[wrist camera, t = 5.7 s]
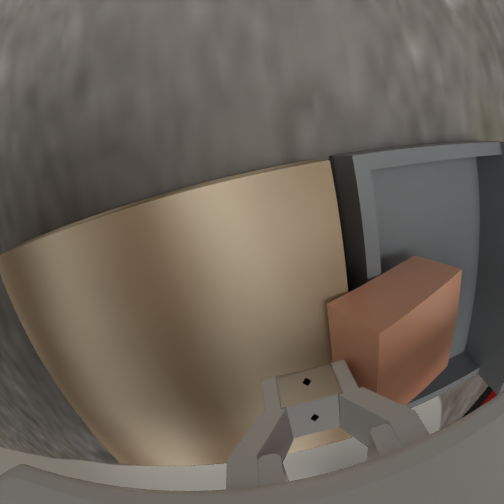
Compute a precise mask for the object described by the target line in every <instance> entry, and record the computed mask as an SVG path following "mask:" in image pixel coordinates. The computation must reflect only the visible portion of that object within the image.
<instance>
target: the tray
mask: <svg viewBox="0 0 504 504" xmlns="http://www.w3.org/2000/svg"><path fill="white" fill-rule="evenodd" d="M330 160H331V165H332V170H333V176H334V181H335V187H336V193H337V199H338V205H339V212H340V219H341V226H342V233H343V241H344V249H345V257H346V266H347V276H348V286H349V292H350V291H352V290H354V289H356V288H358V287H360V286H362V285H363V284H365V283H367V282H369V281H371V280H373V279H374V278H376V277H378V276H380V275H381V274H383V273H385V272H387V271H388V270H390V269H392V268H394V267H395V266H397V265H399V264H400V263H402V262H404V261H406V260H407V259H409V258H411V257H412V256H414V255H415V256H419V257H422V258H426V259H429V260H433V261H436V262H440V263H443V264H446V265H450V266H453V267H456V268H460V269H462V275H461V286H460V296H459V304H458V311H457V318H456V325H455V331H454V336H453V342H452V347H451V351H450V356H449V361H448V365H447V367H446V368H445V369H444V370H443V371H442V372H441V373H440V374H439V375H438V376H437V377H436V378H435V379H434V380H433V381H432V382H431V383H430V384H429V385H428V386H427V387H426V388H425V389H424V390H423V391H421V392H420V393H419V394H418V395H417V396H416V397H415V398H414V399H413V400H412V401H410V402H409V403H408V404H407V405H406V407H408V408H413V407H415V406H417V405H419V404H421V403H424V402H426V401H428V400H430V399H432V398H434V397H436V396H438V395H440V394H442V393H444V392H446V391H448V390H450V389H452V388H454V387H456V386H457V385H459V384H461V383H463V382H465V381H466V380H468V379H470V378H472V377H473V376H475V375H477V374H479V375H480V377H481V378H482V379H483V380H484V381H485V382H486V383H487V384H488V385H489V386H490V387H491V389H492V390H493V391H494V392H495V393H496V394H497V395H498V394H500V393H501V392H503V391H504V142H498V141H458V142H443V143H430V144H419V145H409V146H399V147H391V148H382V149H374V150H367V151H360V152H353V153H346V154H340V155H333V156H330Z"/></svg>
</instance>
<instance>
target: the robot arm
mask: <svg viewBox="0 0 504 504" xmlns="http://www.w3.org/2000/svg"><path fill="white" fill-rule="evenodd" d="M261 384H262V393H263V402H264V411H265V412H262V413H260V414H259V416H258V417H257V418H256V420H255V421H254V423H253V424H252V426H251V427H250V428H249V430H248V431H247V433H246V434H245V435H244V437H243V438H242V440H241V441H240V442H239V444H238V445H237V446H236V448H235V449H234V450H233V452H232V453H231V454H230V456H229V457H228V458H227V483H226V490H213V491H164V490H163V491H162V490H147V489H135V488H127V487H119V486H112V485H105V484H99V483H94V482H89V481H84V480H79V479H74V478H70V477H66V476H62V475H58V474H54V473H51V472H47V471H44V470H41V469H38V468H35V467H32V466H28V465H25V464H21V465H18V466H16V467H14V468H12V469H10V470H8V471H7V472H5V473H4V474H2V475H0V504H504V391H503V392H501V393H500V394H498V395H497V396H496V397H494V398H493V399H491V400H490V401H488V402H487V403H485V404H484V405H482V406H481V407H479V408H477V409H476V410H474V411H473V412H471V413H469V414H468V415H466V416H464V417H463V418H461V419H459V420H457V421H456V422H454V423H452V424H450V425H448V426H447V427H445V428H443V429H441V430H439V431H437V432H435V433H433V434H431V435H430V434H429V433H428V431H427V429H426V428H425V426H424V424H423V423H422V421H421V419H420V418H419V416H418V414H417V413H416V411H415V410H413V409H411V408H408V407H406V406H404V405H401V404H399V403H397V402H395V401H392V400H390V399H388V398H386V397H383V396H381V395H379V394H377V393H375V392H373V391H370V390H368V389H366V388H364V387H361V388H358V386H357V384H356V381H355V380H354V378H353V376H352V374H351V372H350V370H349V368H348V366H347V364H346V362H345V360H343V359H342V360H338V361H335V362H332V363H330V364H325V365H322V366H318V367H314V368H311V369H307V370H303V371H299V372H294V373H289V374H284V375H279V376H276V377H270V378H265V379H262V381H261ZM336 427H340V428H342V429H343V430H344V431H346V432H347V433H349V434H350V435H351V436H353V437H354V438H356V439H357V440H358V441H360V442H361V443H363V444H364V445H366V446H367V447H368V452H367V459H366V462H363V463H360V464H357V465H354V466H351V467H347V468H344V469H340V470H337V471H334V472H330V473H326V474H322V475H318V476H314V477H309V478H305V479H300V480H295V481H290V482H289V480H288V477H287V474H286V471H285V468H284V465H283V461H284V459H285V457H286V455H287V453H288V451H289V449H290V446H291V444H292V442H293V440H294V438H297V437H301V436H305V435H308V434H312V433H316V432H320V431H324V430H328V429H332V428H336Z"/></svg>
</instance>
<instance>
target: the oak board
mask: <svg viewBox="0 0 504 504" xmlns="http://www.w3.org/2000/svg"><path fill="white" fill-rule="evenodd" d="M0 275H1V278H2V281H3V283H4V286H5V288H6V291H7V293H8V295H9V298H10V300H11V302H12V305H13V307H14V309H15V311H16V313H17V315H18V318H19V320H20V322H21V324H22V326H23V328H24V330H25V332H26V334H27V335H28V337H29V339H30V341H31V343H32V345H33V347H34V348H35V350H36V352H37V354H38V355H39V357H40V359H41V361H42V362H43V364H44V366H45V367H46V369H47V370H48V372H49V374H50V375H51V377H52V378H53V380H54V381H55V383H56V384H57V386H58V387H59V389H60V390H61V392H62V393H63V395H64V396H65V397H66V399H67V400H68V402H69V403H70V404H71V406H72V407H73V409H74V410H75V411H76V412H77V414H78V415H79V416H80V418H81V419H82V420H83V422H84V423H85V424H86V425H87V426H88V428H89V429H90V430H91V431H92V433H93V434H94V435H95V436H96V437H97V438H98V440H99V441H100V442H101V443H102V444H103V445H104V446H105V448H106V449H107V450H108V451H109V452H110V453H111V454H112V455H113V456H114V457H115V458H116V459H117V460H118V461H119V462H120V464H125V465H142V466H195V465H211V464H224V463H227V458H228V457H229V456H230V454H231V453H232V452H233V450H234V449H235V448H236V446H237V445H238V444H239V442H240V441H241V440H242V438H243V437H244V435H245V434H246V433H247V431H248V430H249V428H250V427H251V426H252V424H253V423H254V421H255V420H256V418H257V417H258V416H259V414H260V413H262V412H265V411H264V402H263V393H262V384H261V381H262V379H265V378H270V377H276V376H279V375H284V374H289V373H294V372H299V371H303V370H307V369H311V368H314V367H318V366H322V365H325V364H330V363H332V362H333V360H332V349H331V339H330V330H329V321H328V312H327V303H329V302H331V301H333V300H335V299H337V298H339V297H341V296H343V295H345V294H347V293H348V284H347V274H346V265H345V256H344V248H343V240H342V232H341V225H340V218H339V211H338V205H337V199H336V193H335V187H334V181H333V175H332V170H331V165H330V160H305V161H299V162H294V163H289V164H284V165H279V166H274V167H269V168H264V169H259V170H255V171H250V172H246V173H241V174H237V175H233V176H229V177H224V178H220V179H216V180H212V181H208V182H204V183H200V184H197V185H193V186H189V187H185V188H182V189H178V190H174V191H171V192H167V193H164V194H160V195H157V196H153V197H150V198H147V199H143V200H140V201H137V202H134V203H130V204H127V205H124V206H121V207H118V208H115V209H112V210H109V211H106V212H103V213H100V214H97V215H94V216H91V217H88V218H85V219H83V220H80V221H77V222H74V223H71V224H69V225H66V226H63V227H61V228H58V229H55V230H53V231H50V232H48V233H45V234H43V235H40V236H38V237H35V238H33V239H30V240H28V241H26V242H24V243H22V244H20V245H18V246H16V247H14V248H12V249H10V250H8V251H7V252H5V253H3V254H1V255H0ZM348 438H352V436H351V435H350V434H349V433H347V432H346V431H344V430H343V429H342V428H340V427H336V428H332V429H328V430H324V431H320V432H316V433H312V434H308V435H305V436H301V437H297V438H294V440H293V442H292V444H291V446H290V449H289V451H288V453H287V454H290V453H295V452H299V451H304V450H308V449H312V448H316V447H320V446H324V445H328V444H331V443H335V442H338V441H342V440H345V439H348Z"/></svg>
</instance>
